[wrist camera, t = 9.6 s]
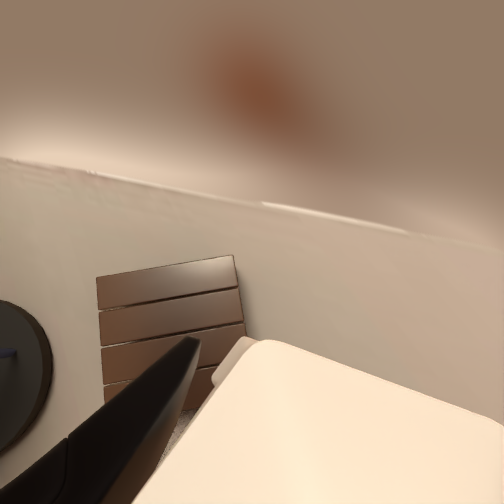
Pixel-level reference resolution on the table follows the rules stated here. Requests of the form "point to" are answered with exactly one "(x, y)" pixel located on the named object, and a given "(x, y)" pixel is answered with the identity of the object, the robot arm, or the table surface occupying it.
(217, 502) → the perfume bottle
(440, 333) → the table surface
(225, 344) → the stool
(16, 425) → the figurine
